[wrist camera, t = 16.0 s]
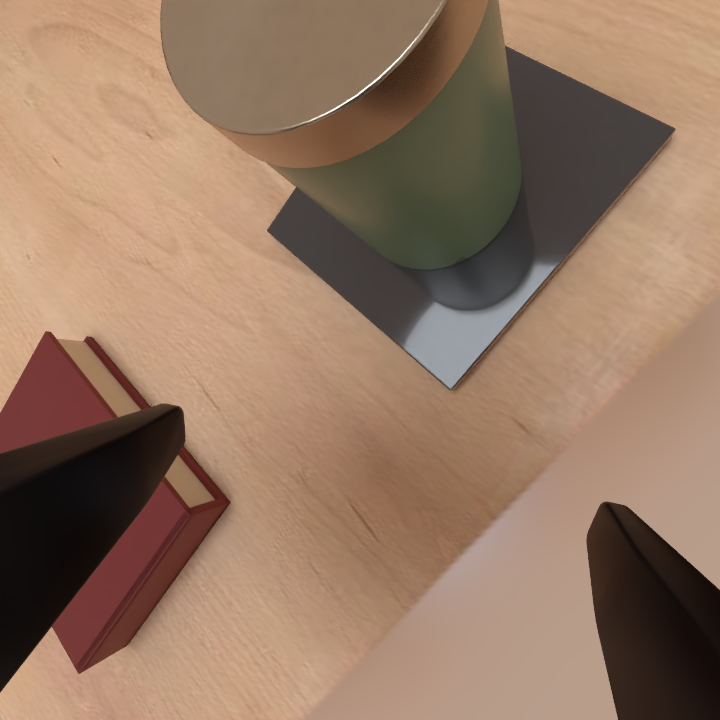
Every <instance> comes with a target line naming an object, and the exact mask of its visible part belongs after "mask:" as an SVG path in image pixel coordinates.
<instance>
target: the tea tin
mask: <svg viewBox="0 0 720 720" xmlns="http://www.w3.org/2000/svg"><path fill="white" fill-rule="evenodd" d="M161 38H162V47H163V53H164V57H165V61H166V65H167V68H168V70H169V73H170V76H171V78H172V81H173V83H174V85H175V86H176V88H177V90H178V91H179V93H180V95H181V97H182V98H183V99H184V101H185V102H186V103H187V104H188V105H189V106H190V108H191V109H192V110H193V111H194V112H195V113H197V114H198V115H199V116H200V117H202V118H203V119H204V120H205V121H206V122H208V123H209V124H210V125H212V126H213V127H214V128H215V129H217V130H218V131H219V132H220V133H222V134H223V135H224V136H226V137H227V138H228V139H229V140H231V141H232V142H233V143H234V144H236V145H237V146H238V147H240V148H241V149H242V150H243V151H245V152H246V153H248V154H249V155H251V156H253V157H255V158H257V159H258V160H261V161H264V162H266V163H267V164H268V165H270V166H271V167H272V168H273V169H275V170H276V171H277V172H278V173H280V174H281V175H282V176H283V177H284V178H286V179H287V180H288V181H289V182H291V183H292V184H293V185H294V186H296V187H297V188H298V189H299V190H301V191H302V192H303V193H304V194H306V195H307V196H308V197H309V198H311V199H312V200H313V201H314V202H316V203H317V204H318V205H319V206H321V207H322V208H323V209H324V210H326V211H327V212H328V213H329V214H331V215H332V216H333V217H334V218H335V219H337V220H338V221H339V222H340V223H342V224H343V225H344V226H345V227H347V228H348V229H349V230H350V231H352V232H353V233H354V234H355V235H357V236H358V237H359V238H360V239H362V240H363V241H364V242H365V243H367V244H368V245H369V246H370V247H372V248H373V249H374V250H375V251H377V252H378V253H379V254H380V255H382V256H383V257H384V258H386V259H387V260H389V261H391V262H392V263H395V264H397V265H400V266H402V267H406V268H410V269H418V270H433V269H439V268H445V267H448V266H451V265H455V264H457V263H459V262H462V261H464V260H466V259H468V258H470V257H471V256H473V255H475V254H476V253H478V252H479V251H480V250H482V249H483V248H484V247H486V246H487V245H488V244H489V243H490V242H491V241H492V240H493V239H494V238H495V237H496V236H497V235H498V233H499V232H500V231H501V230H502V229H503V227H504V225H505V224H506V222H507V221H508V219H509V218H510V216H511V214H512V212H513V210H514V208H515V205H516V202H517V199H518V196H519V192H520V187H521V177H522V169H521V158H520V151H519V144H518V137H517V130H516V123H515V115H514V108H513V101H512V94H511V87H510V80H509V72H508V65H507V58H506V51H505V44H504V37H503V30H502V22H501V15H500V8H499V1H498V0H162V3H161Z"/></svg>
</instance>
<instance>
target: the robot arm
mask: <svg viewBox="0 0 720 720" xmlns="http://www.w3.org/2000/svg"><path fill="white" fill-rule="evenodd" d="M184 443H185V425H184V413H183V410H182V408H181V407H179V406H175V405H170V404H160V405H156V406H153V407H150V408H147V409H143V410H140V411H137V412H134V413H130V414H127V415H124V416H121V417H117V418H114V419H111V420H108V421H104V422H101V423H98V424H95V425H91V426H88V427H85V428H82V429H78V430H75V431H72V432H68V433H65V434H62V435H59V436H55V437H52V438H49V439H46V440H42V441H39V442H36V443H33V444H29V445H26V446H23V447H20V448H16V449H13V450H10V451H7V452H3V453H0V692H1V691H2V690H3V688H4V687H5V686H6V684H7V683H8V682H9V681H10V679H11V678H12V677H13V675H14V674H15V673H16V672H17V670H18V669H19V668H20V666H21V665H22V664H23V663H24V661H25V660H26V659H27V658H28V656H29V655H30V654H31V652H32V651H33V650H34V649H35V647H36V646H37V645H38V643H39V642H40V641H41V640H42V638H43V637H44V636H45V634H46V633H47V632H48V631H49V629H50V628H51V627H52V625H53V624H54V623H55V622H56V620H57V619H58V618H59V616H60V615H61V614H62V613H63V611H64V610H65V609H66V607H67V606H68V605H69V604H70V602H71V601H72V600H73V598H74V597H75V596H76V595H77V593H78V592H79V591H80V589H81V588H82V587H83V586H84V584H85V583H86V582H87V580H88V579H89V578H90V577H91V575H92V574H93V573H94V571H95V570H96V569H97V568H98V566H99V565H100V564H101V562H102V561H103V560H104V559H105V557H106V556H107V555H108V553H109V552H110V551H111V550H112V548H113V547H114V546H115V544H116V543H117V542H118V541H119V539H120V538H121V537H122V535H123V534H124V533H125V532H126V530H127V529H128V528H129V526H130V525H131V524H132V523H133V521H134V520H135V519H136V517H137V516H138V515H139V514H140V512H141V511H142V510H143V508H144V507H145V506H146V504H147V503H148V501H149V500H150V498H151V497H152V496H153V494H154V492H155V491H156V489H157V488H158V486H159V484H160V483H161V481H162V480H163V478H164V476H165V475H166V473H167V472H168V470H169V468H170V467H171V465H172V464H173V462H174V461H175V459H176V457H177V456H178V454H179V453H180V451H181V449H182V448H183V445H184ZM587 551H588V560H589V568H590V577H591V586H592V595H593V604H594V611H595V618H596V623H597V629H598V634H599V638H600V642H601V646H602V651H603V655H604V660H605V664H606V668H607V673H608V677H609V681H610V686H611V690H612V694H613V698H614V703H615V707H616V712H617V716H618V720H720V590H719V589H718V588H717V587H716V586H715V585H714V584H712V583H711V582H710V581H709V580H708V579H707V578H706V577H704V575H702V574H701V573H700V572H699V571H698V570H697V569H696V568H695V567H694V566H693V565H691V564H690V563H689V562H688V561H687V560H686V559H685V558H684V557H683V556H681V555H680V554H679V553H678V552H677V551H676V550H675V549H674V548H673V547H671V546H670V545H669V544H668V543H667V542H666V541H665V540H663V538H661V537H660V536H659V535H658V534H657V533H656V532H655V531H654V530H653V529H652V528H650V527H649V526H648V525H647V524H646V523H645V522H644V521H643V520H642V519H640V518H639V517H638V516H637V515H636V514H635V513H634V512H633V511H632V510H631V509H629V508H628V507H626V506H624V505H620V504H616V503H611V502H603V503H602V504H601V505H600V506H599V508H598V510H597V513H596V515H595V517H594V519H593V522H592V524H591V526H590V528H589V531H588V534H587Z"/></svg>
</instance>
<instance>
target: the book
mask: <svg viewBox="0 0 720 720" xmlns="http://www.w3.org/2000/svg"><path fill="white" fill-rule="evenodd" d="M147 408H150V406H149V405H148V404H147V403H146V402H145V400H144V399H143V398H142V397H141V396H140V395H139V393H138V392H137V391H136V390H135V389H134V387H133V386H132V385H131V384H130V383H129V381H128V380H127V379H126V378H125V377H124V375H123V374H122V373H121V372H120V371H119V369H118V368H117V367H116V366H115V365H114V363H113V362H112V361H111V360H110V359H109V357H108V356H107V355H106V354H105V353H104V352H103V350H102V349H101V348H100V347H99V346H98V344H97V343H96V342H95V341H94V340H93V338H92V337H88V336H87V337H86V338H85V340H84V342H82V341H73V340H64V339H56V338H55V336H54V335H53V334H52V333H51V332H47V331H46V332H45V333H44V335H43V337H42V339H41V341H40V342H39V344H38V346H37V348H36V350H35V351H34V353H33V355H32V357H31V359H30V360H29V362H28V364H27V366H26V368H25V369H24V371H23V373H22V375H21V377H20V379H19V380H18V382H17V384H16V386H15V388H14V389H13V391H12V393H11V395H10V397H9V398H8V400H7V402H6V404H5V406H4V407H3V409H2V411H1V413H0V453H3V452H7V451H10V450H13V449H16V448H20V447H23V446H26V445H29V444H33V443H36V442H39V441H42V440H46V439H49V438H52V437H55V436H59V435H62V434H65V433H68V432H72V431H75V430H78V429H82V428H85V427H88V426H91V425H95V424H98V423H101V422H104V421H108V420H111V419H114V418H117V417H121V416H124V415H127V414H130V413H134V412H137V411H140V410H143V409H147ZM229 503H230V502H229V501H228V500H227V498H226V497H225V496H224V495H223V494H222V492H221V491H220V490H219V489H218V488H217V486H216V485H215V484H214V483H213V482H212V481H211V479H210V478H209V477H208V476H207V475H206V473H205V472H204V471H203V470H202V469H201V467H200V466H199V465H198V464H197V463H196V461H195V460H194V459H193V458H192V457H191V455H190V454H189V453H188V452H187V451H186V449H185V448H184V447H183V448H182V449H181V451H180V453H179V454H178V456H177V457H176V459H175V461H174V462H173V464H172V465H171V467H170V468H169V470H168V472H167V473H166V475H165V476H164V478H163V480H162V481H161V483H160V484H159V486H158V488H157V489H156V491H155V492H154V494H153V496H152V497H151V498H150V500H149V501H148V503H147V504H146V506H145V507H144V508H143V510H142V511H141V512H140V514H139V515H138V516H137V517H136V519H135V520H134V521H133V523H132V524H131V525H130V526H129V528H128V529H127V530H126V532H125V533H124V534H123V535H122V537H121V538H120V539H119V541H118V542H117V543H116V544H115V546H114V547H113V548H112V550H111V551H110V552H109V553H108V555H107V556H106V557H105V559H104V560H103V561H102V562H101V564H100V565H99V566H98V568H97V569H96V570H95V571H94V573H93V574H92V575H91V577H90V578H89V579H88V580H87V582H86V583H85V584H84V586H83V587H82V588H81V589H80V591H79V592H78V593H77V595H76V596H75V597H74V598H73V600H72V601H71V602H70V604H69V605H68V606H67V607H66V609H65V610H64V611H63V613H62V614H61V615H60V616H59V618H58V619H57V620H56V622H55V623H54V624H53V625H52V628H53V629H54V631H55V633H56V635H57V636H58V638H59V640H60V642H61V644H62V645H63V647H64V649H65V651H66V652H67V654H68V656H69V658H70V659H71V661H72V663H73V665H74V667H75V668H76V670H77V672H78V674H80V673H82V672H83V671H85V670H87V669H88V668H90V667H92V666H93V665H95V664H97V663H98V662H100V661H102V660H104V659H105V658H107V657H109V656H110V655H112V654H114V653H115V652H117V651H119V650H120V649H122V648H124V647H126V646H127V645H128V643H129V642H130V640H131V639H132V638H133V636H134V635H135V634H136V632H137V631H138V629H139V628H140V627H141V625H142V624H143V622H144V621H145V620H146V618H147V617H148V615H149V614H150V613H151V611H152V610H153V609H154V607H155V606H156V604H157V603H158V602H159V600H160V599H161V597H162V596H163V595H164V593H165V592H166V591H167V589H168V588H169V586H170V585H171V584H172V582H173V581H174V579H175V578H176V577H177V575H178V574H179V572H180V571H181V570H182V568H183V567H184V566H185V564H186V563H187V561H188V560H189V559H190V557H191V556H192V554H193V553H194V552H195V550H196V549H197V547H198V546H199V545H200V543H201V542H202V541H203V539H204V538H205V536H206V535H207V534H208V532H209V531H210V529H211V528H212V527H213V525H214V524H215V522H216V521H217V520H218V518H219V517H220V516H221V514H222V513H223V511H224V510H225V509H226V507H227V506H228V504H229Z"/></svg>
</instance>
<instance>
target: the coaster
mask: <svg viewBox="0 0 720 720" xmlns="http://www.w3.org/2000/svg"><path fill="white" fill-rule="evenodd" d="M505 51H506V58H507V65H508V72H509V80H510V87H511V94H512V101H513V108H514V115H515V123H516V130H517V137H518V144H519V151H520V158H521V169H522V177H521V187H520V192H519V196H518V199H517V202H516V205H515V208H514V210H513V212H512V214H511V216H510V218H509V219H508V221H507V222H506V224H505V225H504V227H503V229H502V230H501V231H500V232H499V233H498V235H497V236H496V237H495V238H494V239H493V240H492V241H491V242H490V243H489V244H488V245H487V246H486V247H484V248H483V249H482V250H480V251H479V252H478V253H476V254H475V255H473V256H471V257H470V258H468V259H466V260H464V261H462V262H459V263H457V264H455V265H451V266H448V267H445V268H439V269H433V270H418V269H410V268H406V267H402V266H400V265H397V264H395V263H392V262H391V261H389V260H387V259H386V258H384V257H383V256H382V255H380V254H379V253H378V252H377V251H375V250H374V249H373V248H372V247H370V246H369V245H368V244H367V243H365V242H364V241H363V240H362V239H360V238H359V237H358V236H357V235H355V234H354V233H353V232H352V231H350V230H349V229H348V228H347V227H345V226H344V225H343V224H342V223H340V222H339V221H338V220H337V219H335V218H334V217H333V216H332V215H331V214H329V213H328V212H327V211H326V210H324V209H323V208H322V207H321V206H319V205H318V204H317V203H316V202H314V201H313V200H312V199H311V198H309V197H308V196H307V195H306V194H304V193H303V192H302V191H301V190H299V189H298V188H297V187H296V188H295V190H294V191H293V193H292V194H291V196H290V197H289V199H288V200H287V202H286V203H285V204H284V206H283V207H282V209H281V210H280V212H279V213H278V215H277V216H276V218H275V219H274V221H273V222H272V224H271V225H270V227H269V228H268V230H267V231H268V232H269V233H270V234H271V235H272V236H273V237H274V238H275V239H277V240H278V241H279V242H280V243H281V244H282V245H284V246H285V247H286V248H287V249H288V250H289V251H290V252H292V253H293V254H294V255H295V256H296V257H297V258H299V259H300V260H301V261H302V262H303V263H304V264H305V265H307V266H308V267H309V268H310V269H311V270H312V271H313V272H315V273H316V274H317V275H318V276H319V277H320V278H322V279H323V280H324V281H325V282H326V283H327V284H328V285H330V286H331V287H332V288H333V289H334V290H335V291H336V292H338V293H339V294H340V295H341V296H342V297H343V298H345V299H346V300H347V301H348V302H349V303H350V304H351V305H353V306H354V307H355V308H356V309H357V310H358V311H359V312H361V313H362V314H363V315H364V316H365V317H366V318H368V319H369V320H370V321H371V322H372V323H373V324H374V325H376V326H377V327H378V328H379V329H380V330H381V331H383V332H384V333H385V334H386V335H387V336H388V337H389V338H391V339H392V340H393V341H394V342H395V343H396V344H397V345H399V346H400V347H401V348H402V349H403V350H404V351H406V352H407V353H408V354H409V355H410V356H411V357H412V358H414V359H415V360H416V361H417V362H418V363H419V364H420V365H422V366H423V367H424V368H425V369H426V370H427V371H429V372H430V373H431V374H432V375H433V376H434V377H435V378H437V379H438V380H439V381H440V382H441V383H442V384H443V385H445V386H446V387H447V388H448V389H449V390H452V391H454V390H455V389H456V388H457V387H458V386H459V385H460V383H461V382H462V381H463V380H464V379H465V378H466V376H467V375H468V374H469V373H470V372H471V371H472V370H473V368H474V367H475V366H476V365H477V364H478V363H479V361H480V360H481V359H482V358H483V357H484V356H485V354H486V353H487V352H488V351H489V350H490V349H491V347H492V346H493V345H494V344H495V343H496V342H497V340H498V339H499V338H500V337H501V336H502V335H503V334H504V332H505V331H506V330H507V329H508V328H509V327H510V325H511V324H512V323H513V322H514V321H515V320H516V318H517V317H518V316H519V315H520V314H521V313H522V311H523V310H524V309H525V308H526V307H527V306H528V304H529V303H530V302H531V301H532V300H533V299H534V298H535V296H536V295H537V294H538V293H539V292H540V291H541V289H542V288H543V287H544V286H545V285H546V284H547V282H548V281H549V280H550V279H551V278H552V277H553V275H554V274H555V273H556V272H557V271H558V270H559V268H560V267H561V266H562V265H563V264H564V263H565V262H566V260H567V259H568V258H569V257H570V256H571V255H572V253H573V252H574V251H575V250H576V249H577V248H578V246H579V245H580V244H581V243H582V242H583V241H584V239H585V238H586V237H587V236H588V235H589V234H590V232H591V231H592V230H593V229H594V228H595V227H596V226H597V224H598V223H599V222H600V221H601V220H602V219H603V217H604V216H605V215H606V214H607V213H608V212H609V210H610V209H611V208H612V207H613V206H614V205H615V203H616V202H617V201H618V200H619V199H620V198H621V196H622V195H623V194H624V193H625V192H626V191H627V190H628V188H629V187H630V186H631V185H632V184H633V183H634V181H635V180H636V179H637V178H638V177H639V176H640V174H641V173H642V172H643V171H644V170H645V169H646V167H647V166H648V165H649V164H650V163H651V162H652V160H653V159H654V158H655V157H656V156H657V155H658V154H659V152H660V151H661V150H662V149H663V148H664V147H665V145H666V144H667V143H668V142H669V141H670V140H671V138H672V136H673V134H674V132H675V128H673V127H671V126H669V125H667V124H665V123H663V122H661V121H659V120H657V119H655V118H653V117H651V116H649V115H646V114H644V113H642V112H640V111H638V110H636V109H634V108H632V107H630V106H628V105H626V104H624V103H622V102H620V101H618V100H616V99H614V98H611V97H609V96H607V95H605V94H603V93H601V92H599V91H597V90H595V89H593V88H591V87H589V86H587V85H585V84H583V83H581V82H579V81H577V80H574V79H572V78H570V77H568V76H566V75H564V74H562V73H560V72H558V71H556V70H554V69H552V68H550V67H548V66H546V65H544V64H542V63H539V62H537V61H535V60H533V59H531V58H529V57H527V56H525V55H523V54H521V53H519V52H517V51H515V50H513V49H511V48H509V47H507V46H505Z"/></svg>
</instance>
